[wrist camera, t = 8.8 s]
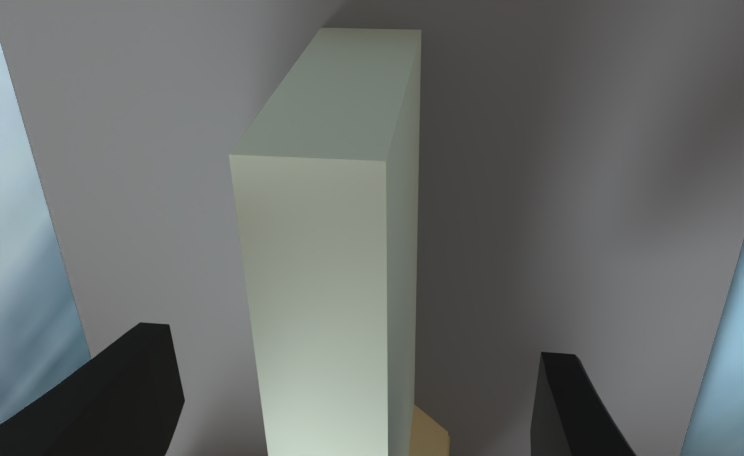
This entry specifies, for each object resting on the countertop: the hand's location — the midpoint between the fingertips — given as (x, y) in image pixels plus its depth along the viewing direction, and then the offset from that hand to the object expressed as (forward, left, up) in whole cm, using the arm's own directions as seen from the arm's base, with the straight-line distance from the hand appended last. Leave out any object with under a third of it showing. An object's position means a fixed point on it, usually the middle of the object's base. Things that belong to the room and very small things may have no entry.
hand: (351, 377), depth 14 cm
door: (-1, 0, -4) cm, 4 cm away
